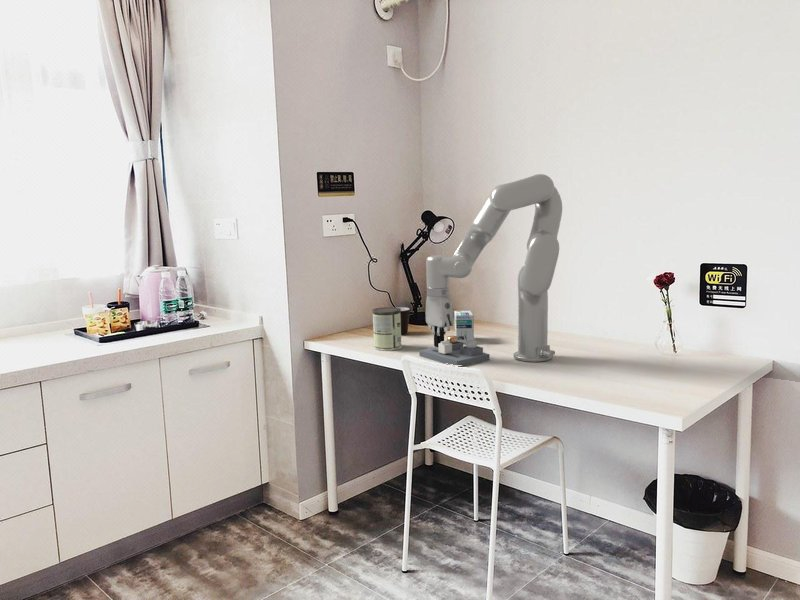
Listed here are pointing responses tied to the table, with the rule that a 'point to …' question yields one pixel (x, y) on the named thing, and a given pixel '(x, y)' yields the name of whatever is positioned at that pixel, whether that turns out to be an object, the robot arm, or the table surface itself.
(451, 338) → the copper button
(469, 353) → the panel
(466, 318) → the light bulb box
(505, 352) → the table surface
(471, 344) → the grey button
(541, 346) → the robot arm
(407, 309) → the coffee mug
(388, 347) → the coffee can
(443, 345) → the slider
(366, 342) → the table surface
